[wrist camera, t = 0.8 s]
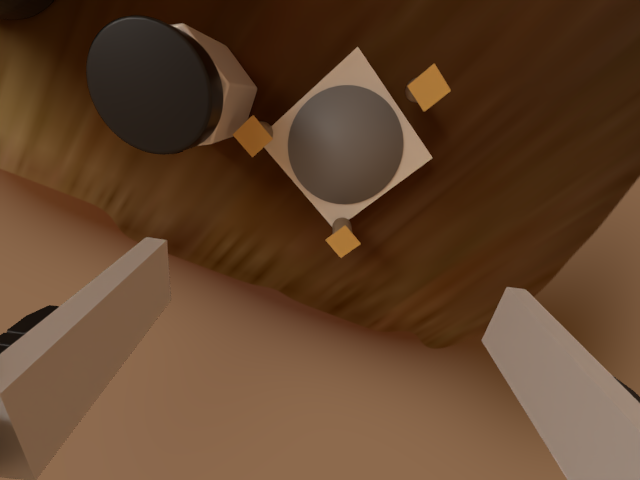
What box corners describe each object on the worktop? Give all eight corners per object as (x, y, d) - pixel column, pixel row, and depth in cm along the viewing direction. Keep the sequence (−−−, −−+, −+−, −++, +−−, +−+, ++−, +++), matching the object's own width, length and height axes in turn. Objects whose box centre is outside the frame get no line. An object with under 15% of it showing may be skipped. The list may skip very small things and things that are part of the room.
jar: (151, 81, 31) (51, 69, 20) (211, 21, 29) (135, -28, 18) (215, 156, 34) (157, 183, 23) (273, 107, 31) (241, 110, 21)
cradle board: (251, 128, 32) (232, 134, 26) (375, 10, 28) (387, -15, 22) (339, 232, 37) (340, 258, 31) (460, 144, 32) (489, 153, 26)
